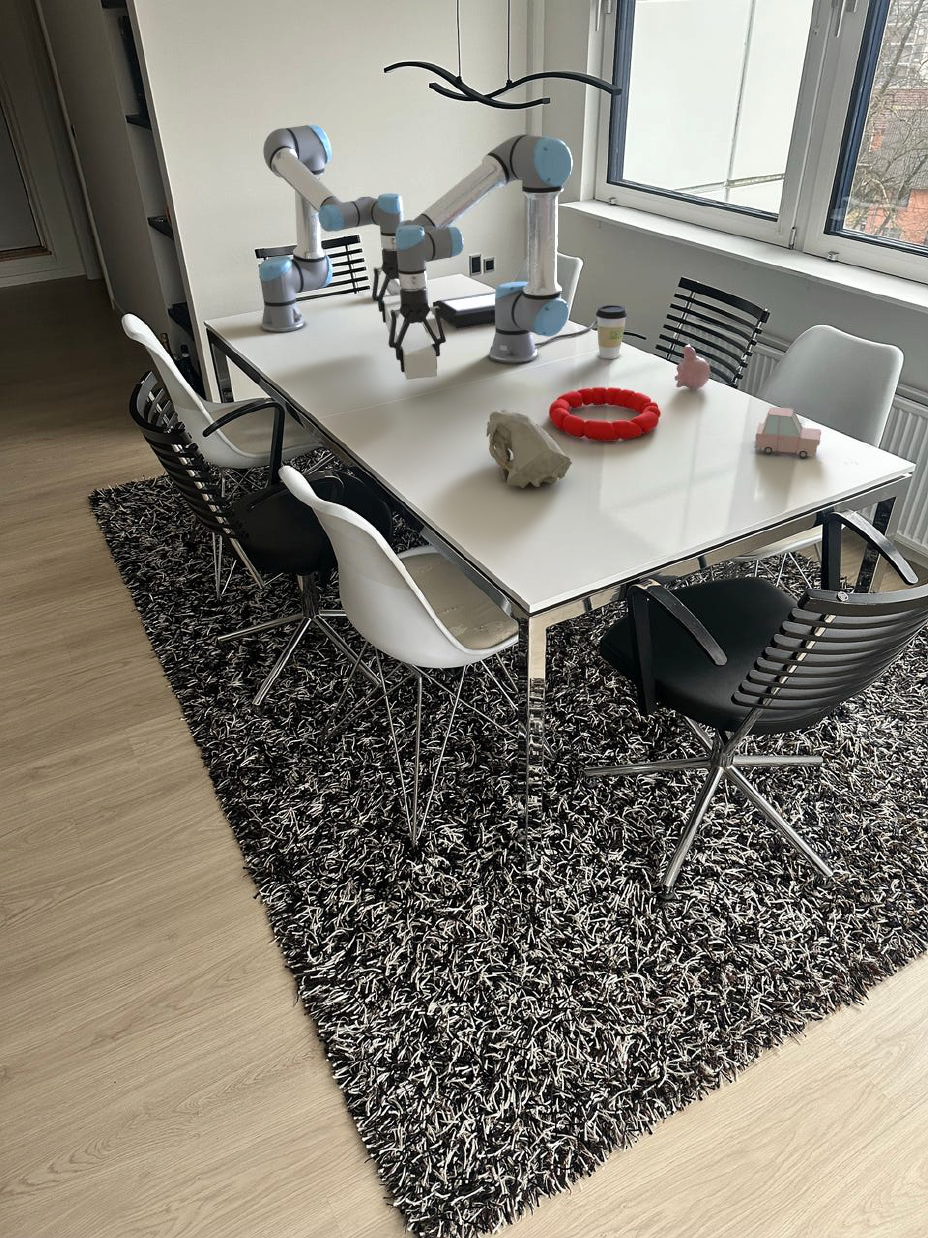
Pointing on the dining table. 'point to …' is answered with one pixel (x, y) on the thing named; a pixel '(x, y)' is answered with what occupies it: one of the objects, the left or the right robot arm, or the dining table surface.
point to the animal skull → (525, 450)
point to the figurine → (692, 370)
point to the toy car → (786, 434)
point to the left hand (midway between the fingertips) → (398, 320)
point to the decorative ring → (604, 428)
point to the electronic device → (468, 310)
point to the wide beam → (412, 344)
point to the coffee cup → (610, 329)
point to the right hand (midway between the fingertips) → (418, 368)
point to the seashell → (394, 287)
